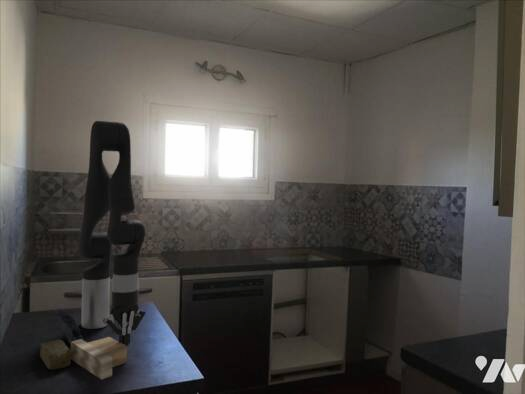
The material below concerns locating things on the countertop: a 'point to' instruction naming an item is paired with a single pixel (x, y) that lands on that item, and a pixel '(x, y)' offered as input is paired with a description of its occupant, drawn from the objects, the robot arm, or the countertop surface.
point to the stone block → (55, 354)
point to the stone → (68, 326)
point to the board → (91, 359)
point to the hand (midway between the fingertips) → (124, 346)
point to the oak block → (112, 349)
